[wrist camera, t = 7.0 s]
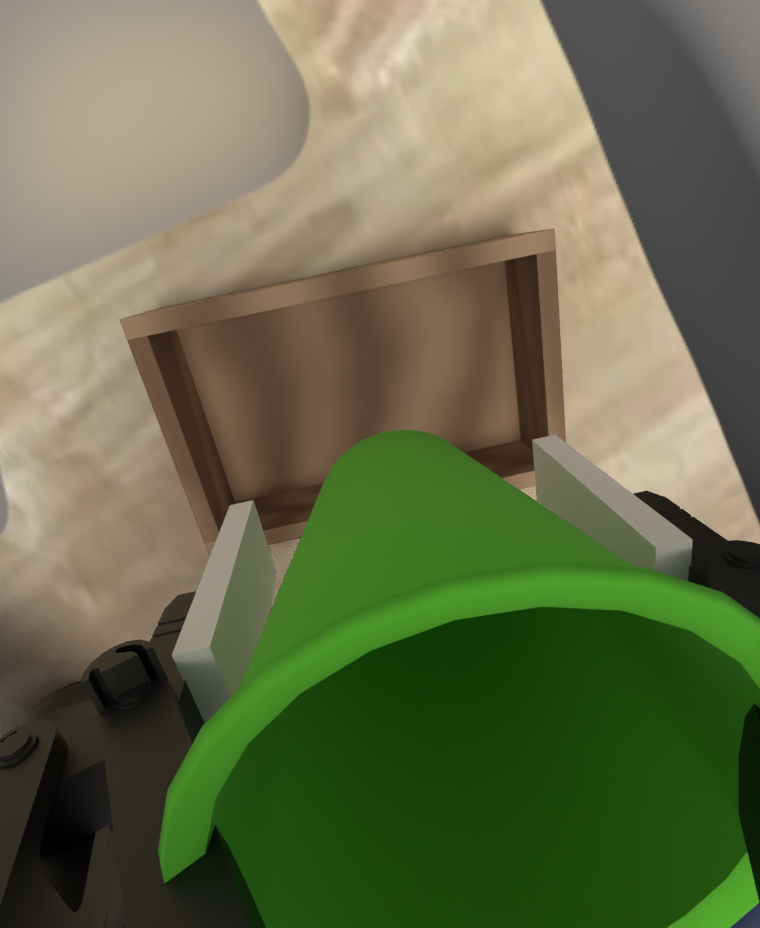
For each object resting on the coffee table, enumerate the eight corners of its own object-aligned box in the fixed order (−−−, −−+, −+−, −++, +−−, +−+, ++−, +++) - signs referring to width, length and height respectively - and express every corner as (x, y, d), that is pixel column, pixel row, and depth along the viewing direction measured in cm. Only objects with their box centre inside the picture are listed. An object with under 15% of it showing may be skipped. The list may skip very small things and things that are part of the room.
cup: (232, 385, 15) (36, 655, 5) (532, 347, 15) (931, 518, 5) (286, 628, 18) (239, 1084, 8) (530, 590, 19) (769, 978, 9)
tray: (227, 511, 36) (210, 557, 30) (156, 308, 30) (119, 319, 25) (530, 445, 36) (567, 478, 31) (513, 234, 31) (554, 228, 25)
